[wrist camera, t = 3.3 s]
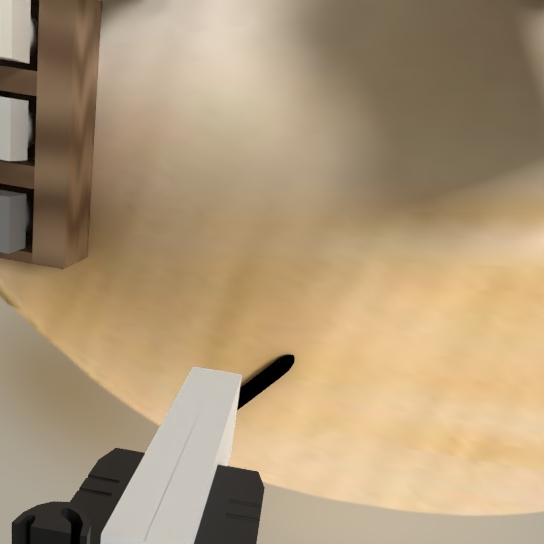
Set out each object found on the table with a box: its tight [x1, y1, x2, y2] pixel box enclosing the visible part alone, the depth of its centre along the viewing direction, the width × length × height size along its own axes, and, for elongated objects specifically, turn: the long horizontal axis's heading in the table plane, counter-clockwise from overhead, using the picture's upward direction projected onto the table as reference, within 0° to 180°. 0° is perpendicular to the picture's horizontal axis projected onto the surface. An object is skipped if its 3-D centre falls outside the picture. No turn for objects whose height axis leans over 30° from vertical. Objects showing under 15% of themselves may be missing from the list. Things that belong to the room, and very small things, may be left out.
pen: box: [237, 355, 294, 410], centre depth 53 cm, size 2×14×2 cm, turn 131°
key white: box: [0, 0, 39, 63], centre depth 40 cm, size 5×5×5 cm
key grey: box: [0, 96, 36, 161], centre depth 43 cm, size 5×5×5 cm
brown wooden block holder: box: [0, 0, 102, 269], centre depth 45 cm, size 24×12×5 cm, turn 171°
